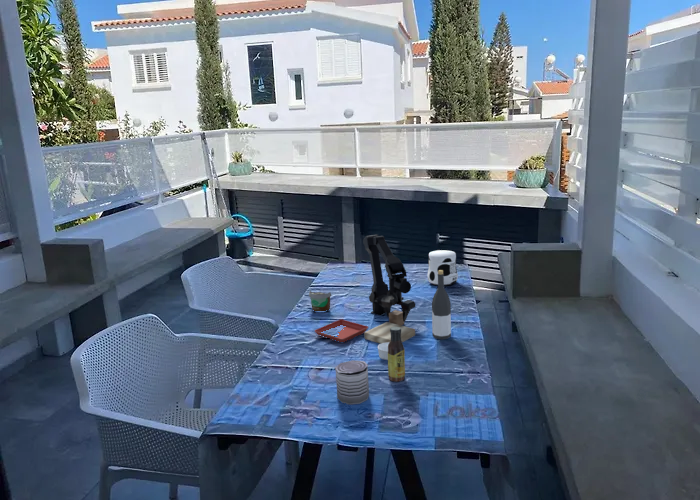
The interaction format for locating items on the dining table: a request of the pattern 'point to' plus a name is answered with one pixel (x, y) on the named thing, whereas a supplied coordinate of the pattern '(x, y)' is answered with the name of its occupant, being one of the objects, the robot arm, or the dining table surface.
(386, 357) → the ramekin
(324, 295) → the food container
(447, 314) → the wine bottle
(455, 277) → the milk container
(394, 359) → the sauce bottle
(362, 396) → the can
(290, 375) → the dining table surface
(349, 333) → the plant saucer
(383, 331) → the birch base
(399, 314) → the walnut block
